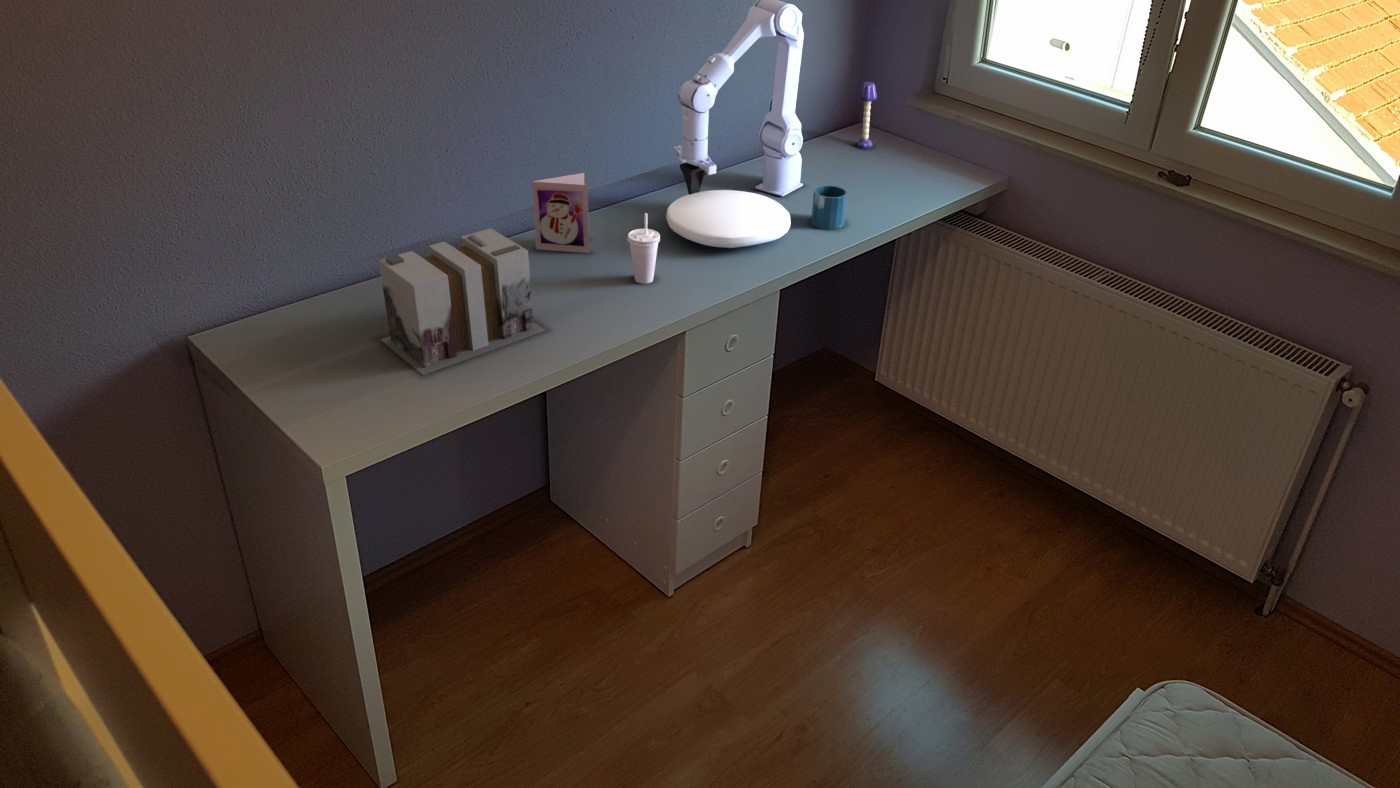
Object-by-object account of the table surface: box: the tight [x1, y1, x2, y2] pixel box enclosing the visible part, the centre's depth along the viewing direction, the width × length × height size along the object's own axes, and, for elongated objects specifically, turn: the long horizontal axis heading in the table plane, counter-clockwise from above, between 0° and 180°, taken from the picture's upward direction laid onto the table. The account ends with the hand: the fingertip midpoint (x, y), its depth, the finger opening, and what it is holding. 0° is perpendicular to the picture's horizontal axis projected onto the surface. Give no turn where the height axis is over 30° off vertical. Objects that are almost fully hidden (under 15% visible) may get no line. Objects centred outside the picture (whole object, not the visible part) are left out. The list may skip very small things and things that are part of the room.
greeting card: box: [531, 172, 591, 254], centre depth 223 cm, size 11×7×15 cm, turn 83°
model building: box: [378, 227, 547, 376], centre depth 189 cm, size 16×25×16 cm, turn 131°
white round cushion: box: [665, 189, 792, 249], centre depth 234 cm, size 28×6×27 cm
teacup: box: [810, 184, 848, 231], centre depth 238 cm, size 7×7×8 cm
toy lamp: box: [855, 81, 878, 150], centre depth 279 cm, size 5×5×17 cm
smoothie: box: [627, 212, 661, 285], centre depth 210 cm, size 6×6×14 cm
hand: (693, 194), depth 243 cm, fingers closed
